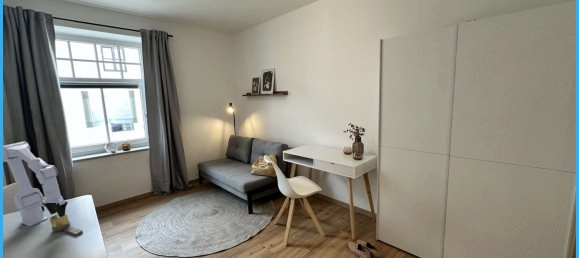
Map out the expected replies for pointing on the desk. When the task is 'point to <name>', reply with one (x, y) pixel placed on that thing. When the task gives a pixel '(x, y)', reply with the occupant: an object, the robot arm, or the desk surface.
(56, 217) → the brushed gold cube
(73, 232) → the ratchet
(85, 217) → the desk surface
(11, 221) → the desk surface
